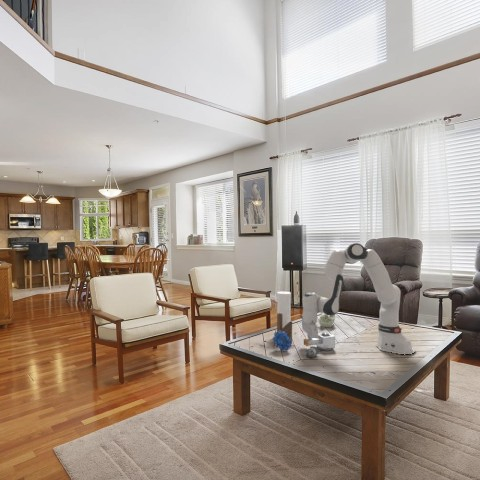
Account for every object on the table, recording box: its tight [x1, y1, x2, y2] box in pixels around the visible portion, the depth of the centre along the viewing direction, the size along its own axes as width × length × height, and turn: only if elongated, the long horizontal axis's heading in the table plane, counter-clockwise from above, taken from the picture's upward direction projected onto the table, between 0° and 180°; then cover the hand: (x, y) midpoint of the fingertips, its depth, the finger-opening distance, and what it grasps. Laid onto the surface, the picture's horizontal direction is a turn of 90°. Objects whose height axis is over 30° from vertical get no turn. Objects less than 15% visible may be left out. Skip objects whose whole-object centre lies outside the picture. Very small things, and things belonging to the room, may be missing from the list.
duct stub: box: [305, 346, 319, 359], centre depth 202 cm, size 6×5×5 cm
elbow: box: [303, 332, 336, 349], centre depth 215 cm, size 18×8×7 cm, turn 110°
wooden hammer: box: [276, 312, 293, 344], centre depth 230 cm, size 4×11×18 cm, turn 48°
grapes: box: [272, 330, 292, 351], centre depth 212 cm, size 12×7×12 cm, turn 66°
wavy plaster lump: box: [317, 312, 336, 328], centre depth 272 cm, size 18×13×16 cm
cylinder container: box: [276, 291, 292, 333], centre depth 247 cm, size 9×9×30 cm
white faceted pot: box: [316, 332, 335, 352], centre depth 217 cm, size 10×10×9 cm
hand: (310, 341), depth 216 cm, fingers closed
